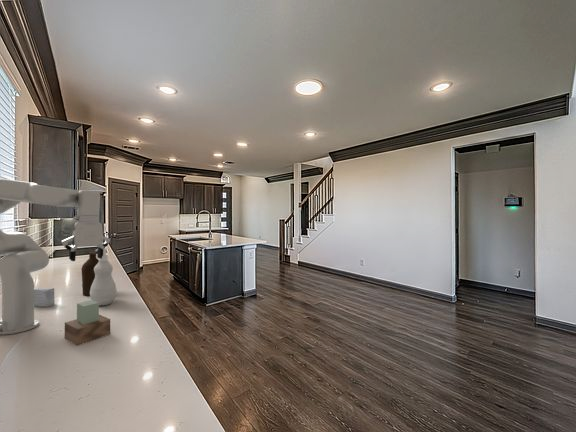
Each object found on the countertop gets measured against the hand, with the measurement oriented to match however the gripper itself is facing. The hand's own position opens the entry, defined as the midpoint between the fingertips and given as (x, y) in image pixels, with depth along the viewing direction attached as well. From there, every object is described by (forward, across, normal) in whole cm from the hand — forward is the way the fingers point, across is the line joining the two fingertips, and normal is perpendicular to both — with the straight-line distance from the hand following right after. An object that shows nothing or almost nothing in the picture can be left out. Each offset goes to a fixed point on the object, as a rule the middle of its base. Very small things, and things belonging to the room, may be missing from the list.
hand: (86, 259), depth 114 cm
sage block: (+22, -3, -12) cm, 26 cm away
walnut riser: (+28, -3, -13) cm, 31 cm away
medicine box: (+30, -2, +46) cm, 55 cm away
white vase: (+29, +17, +25) cm, 42 cm away
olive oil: (+29, +21, +50) cm, 61 cm away
